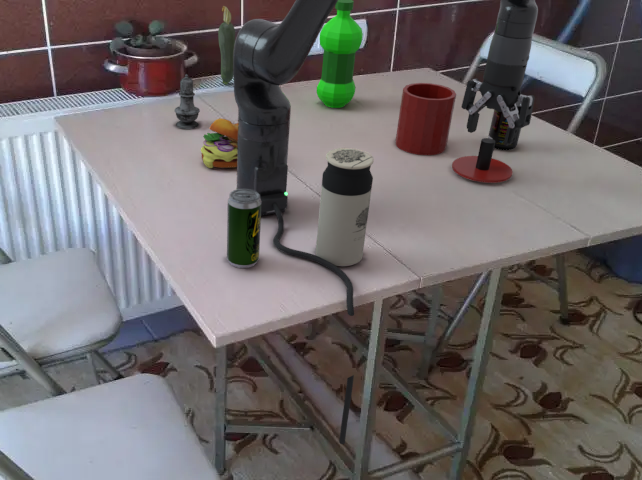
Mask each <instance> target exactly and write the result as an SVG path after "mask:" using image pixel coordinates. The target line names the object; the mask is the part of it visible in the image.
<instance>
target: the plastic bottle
mask: <svg viewBox="0 0 642 480" xmlns="http://www.w3.org/2000/svg"><path fill="white" fill-rule="evenodd" d="M354 2H355V1H354V0H338V1H337V3H336V5H335V6H334V9H335V10H336V15H335V16H333V17H332V18H331V19H329V20H328V21H327V22H325V23H324V25H323V27H322V29H321V31H320V33H319V45H320V47H321V49H323V54H322V67H321V68H322V69H321V77H320V80H319V82H318V84H317V86H316V94H317V97H318V99H319V101H321V102H322V103H323V104H324V106H326V107H327V108H332V109H341V108H344V107H345V106H347V104H349V103H350V102H351V101H353V98H354V96H355V93H356V88H357V87H356V84H355V81H354V78H353V77H354V73H355V72H354V70H355V61H356V53H357V52H358V51H359V50H360V48H361V45H362V43H363V37H364V33H363V29H362V27H361V26H360V25H359V24H358V23H357V21H356V20H355V19H354V18H353V17H352V16H351V11H353V9H354V4H355V3H354Z"/></svg>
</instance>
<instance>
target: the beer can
mask: <svg viewBox="0 0 642 480" xmlns="http://www.w3.org/2000/svg"><path fill="white" fill-rule="evenodd" d="M261 219H262V216H261V199H260V194H259V193H258V192H256V191H254V190H251V189H237V188H236V189H234V190H233V191H230V193H229V197H228V199H227V221H226V223H227V225H226V226H227V229H226V231H227V232H226V259H227V261H228V263H229V265H231V266H232V267H235V268H239V269H248V268H249V269H250V268H252V267H255V265H256V264H257V263H258V261H259V260H260V245H261V244H260V243H261V223H262V222H261V221H262V220H261Z"/></svg>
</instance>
